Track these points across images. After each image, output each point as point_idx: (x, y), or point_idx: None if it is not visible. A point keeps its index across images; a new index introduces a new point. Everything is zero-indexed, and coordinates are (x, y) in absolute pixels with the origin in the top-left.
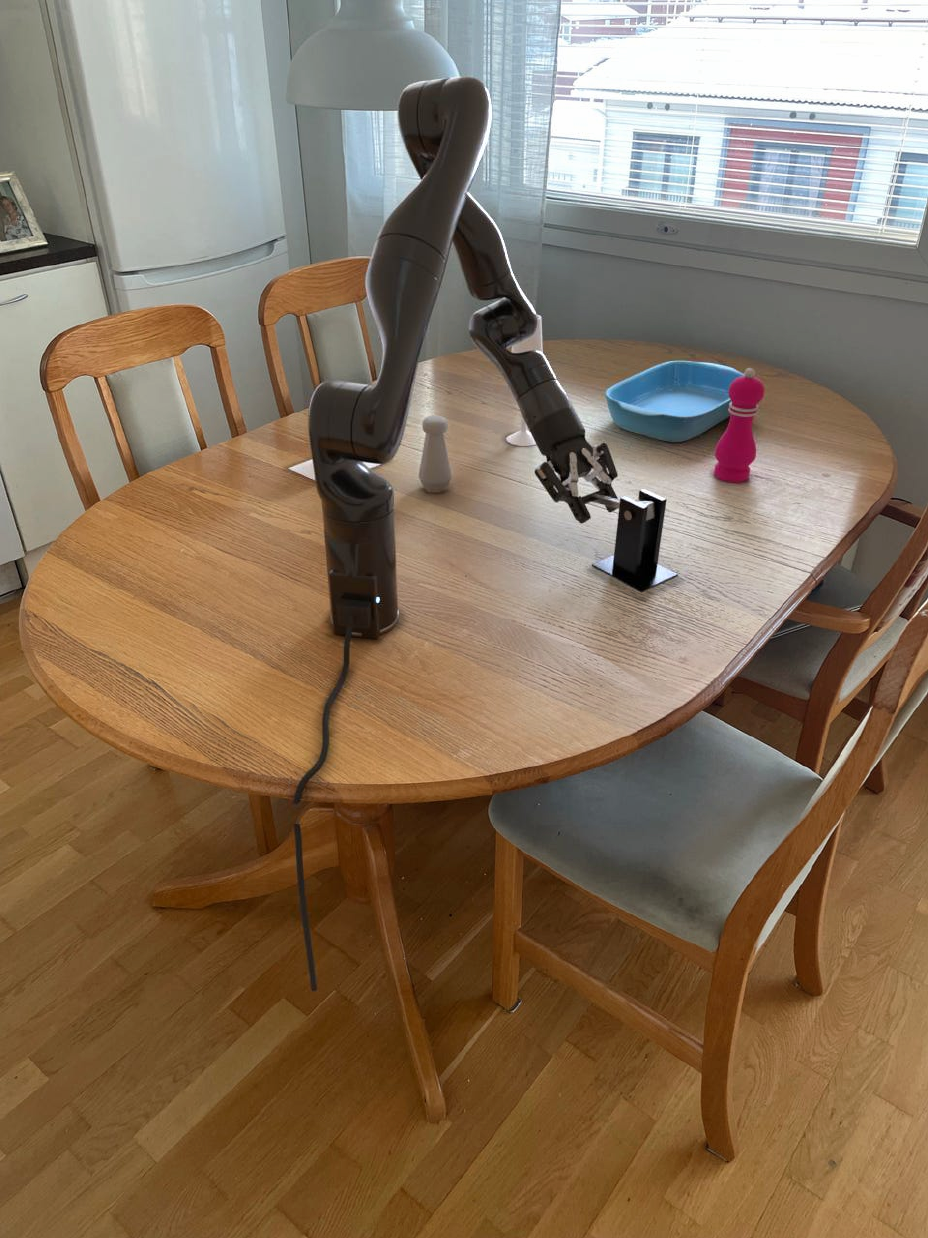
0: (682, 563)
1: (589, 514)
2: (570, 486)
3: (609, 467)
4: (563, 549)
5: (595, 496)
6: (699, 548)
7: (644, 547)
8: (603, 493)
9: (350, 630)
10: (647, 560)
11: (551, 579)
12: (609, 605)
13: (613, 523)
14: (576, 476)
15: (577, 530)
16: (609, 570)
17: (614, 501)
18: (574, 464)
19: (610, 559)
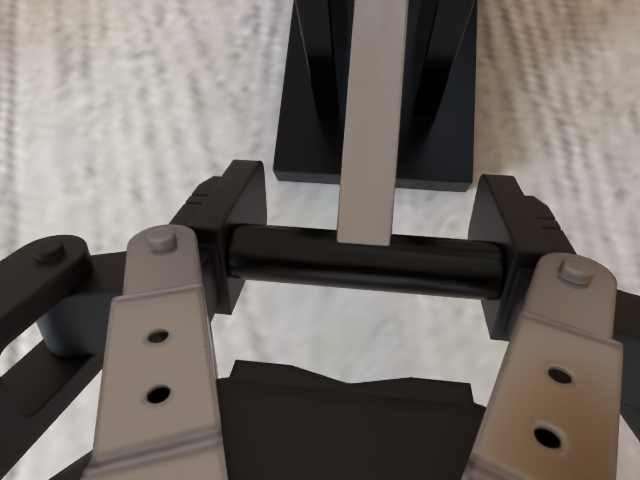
0: (193, 37)
1: (489, 178)
2: (613, 325)
3: (20, 300)
4: (420, 377)
5: (390, 200)
6: (70, 61)
7: (340, 8)
8: (272, 227)
9: None
10: (344, 21)
11: (631, 249)
12: (584, 18)
13: (99, 380)
14: (543, 333)
15: None
16: (456, 112)
17: (407, 8)
18: (509, 470)
19: None
